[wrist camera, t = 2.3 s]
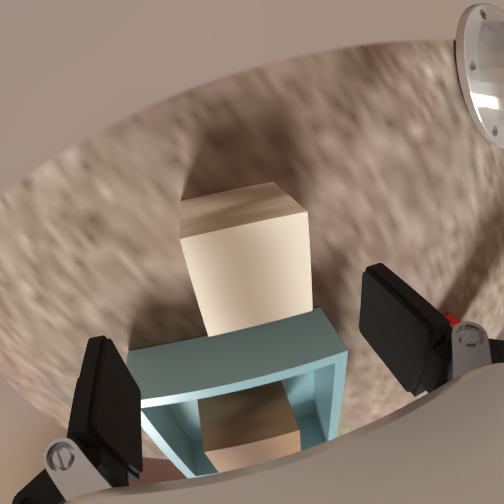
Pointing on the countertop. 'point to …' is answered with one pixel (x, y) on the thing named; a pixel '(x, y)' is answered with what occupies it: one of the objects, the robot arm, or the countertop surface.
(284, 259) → the birch block
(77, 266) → the countertop surface
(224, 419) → the walnut block
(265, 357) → the tote
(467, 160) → the countertop surface
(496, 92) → the robot arm
